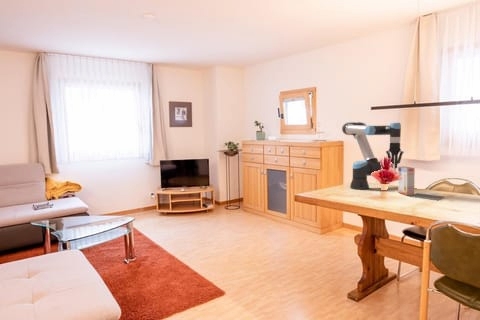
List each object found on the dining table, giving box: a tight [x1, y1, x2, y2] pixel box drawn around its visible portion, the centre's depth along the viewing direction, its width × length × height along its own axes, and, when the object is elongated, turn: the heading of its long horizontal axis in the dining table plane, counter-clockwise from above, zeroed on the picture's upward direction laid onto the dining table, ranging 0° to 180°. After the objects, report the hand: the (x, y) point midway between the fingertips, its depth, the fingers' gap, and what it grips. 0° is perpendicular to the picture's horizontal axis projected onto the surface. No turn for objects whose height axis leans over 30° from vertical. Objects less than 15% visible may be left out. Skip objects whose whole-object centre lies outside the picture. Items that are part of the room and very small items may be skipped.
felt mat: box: [408, 192, 445, 201], centre depth 235 cm, size 19×16×1 cm
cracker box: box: [397, 166, 415, 196], centre depth 245 cm, size 14×6×21 cm, turn 179°
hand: (394, 172), depth 251 cm, fingers closed
